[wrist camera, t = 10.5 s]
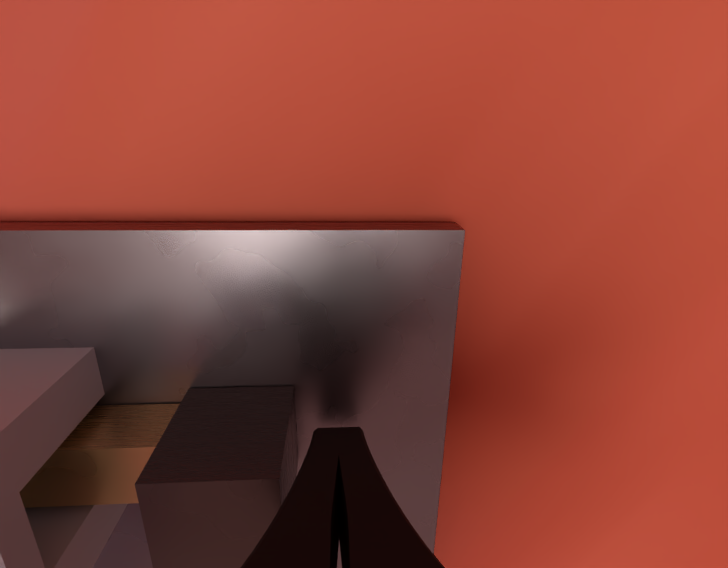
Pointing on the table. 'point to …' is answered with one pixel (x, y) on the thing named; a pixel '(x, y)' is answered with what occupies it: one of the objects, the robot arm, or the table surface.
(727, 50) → the table surface
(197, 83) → the table surface
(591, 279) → the table surface
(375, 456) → the base plate
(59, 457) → the pin
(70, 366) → the pin guide
